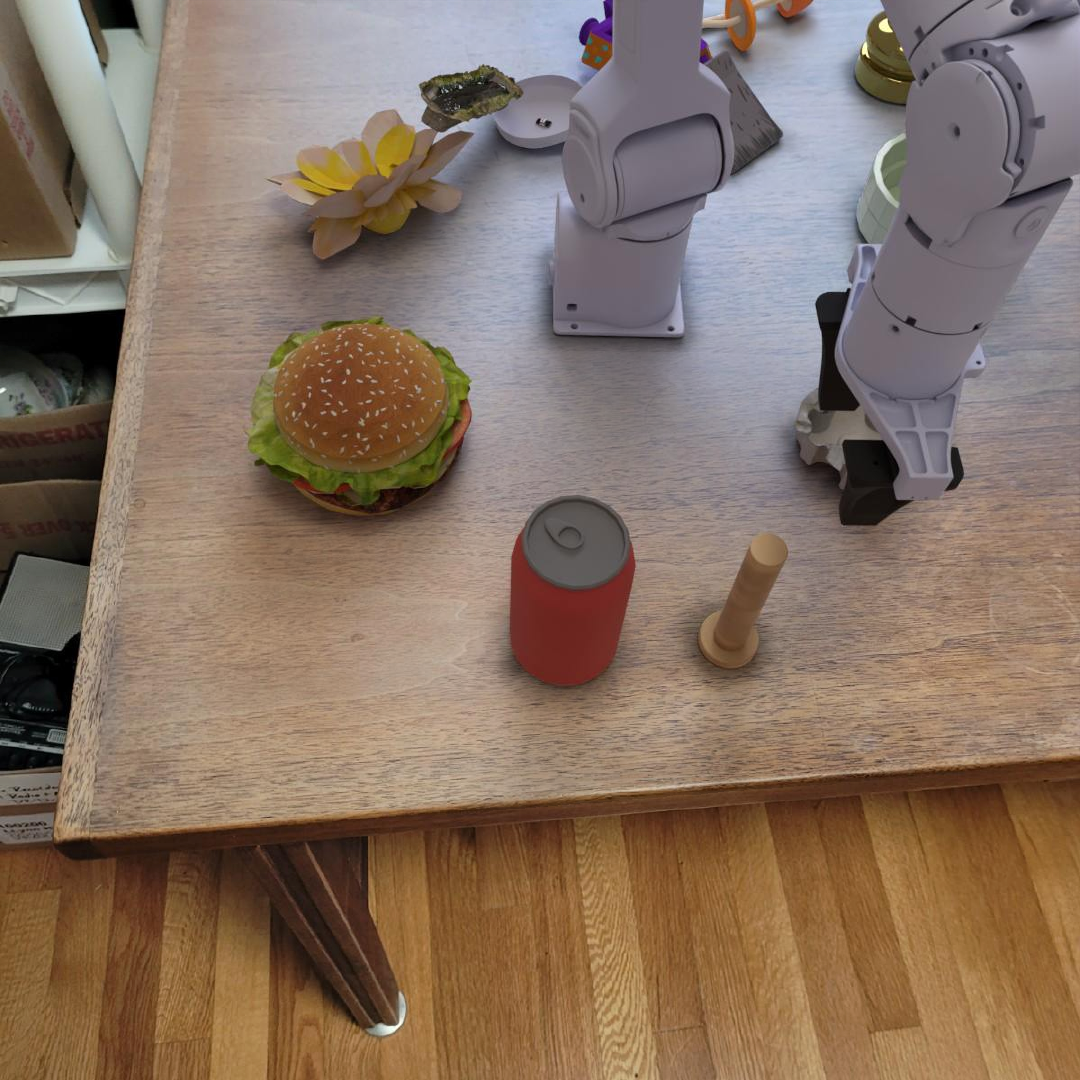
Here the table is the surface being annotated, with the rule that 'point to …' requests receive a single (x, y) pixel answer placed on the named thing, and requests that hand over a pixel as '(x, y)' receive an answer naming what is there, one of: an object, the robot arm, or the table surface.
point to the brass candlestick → (883, 63)
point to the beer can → (570, 589)
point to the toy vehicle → (745, 109)
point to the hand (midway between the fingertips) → (846, 461)
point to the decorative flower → (372, 180)
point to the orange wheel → (749, 17)
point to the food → (360, 416)
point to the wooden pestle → (743, 605)
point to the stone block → (466, 96)
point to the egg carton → (830, 433)
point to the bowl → (882, 190)
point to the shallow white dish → (538, 112)
